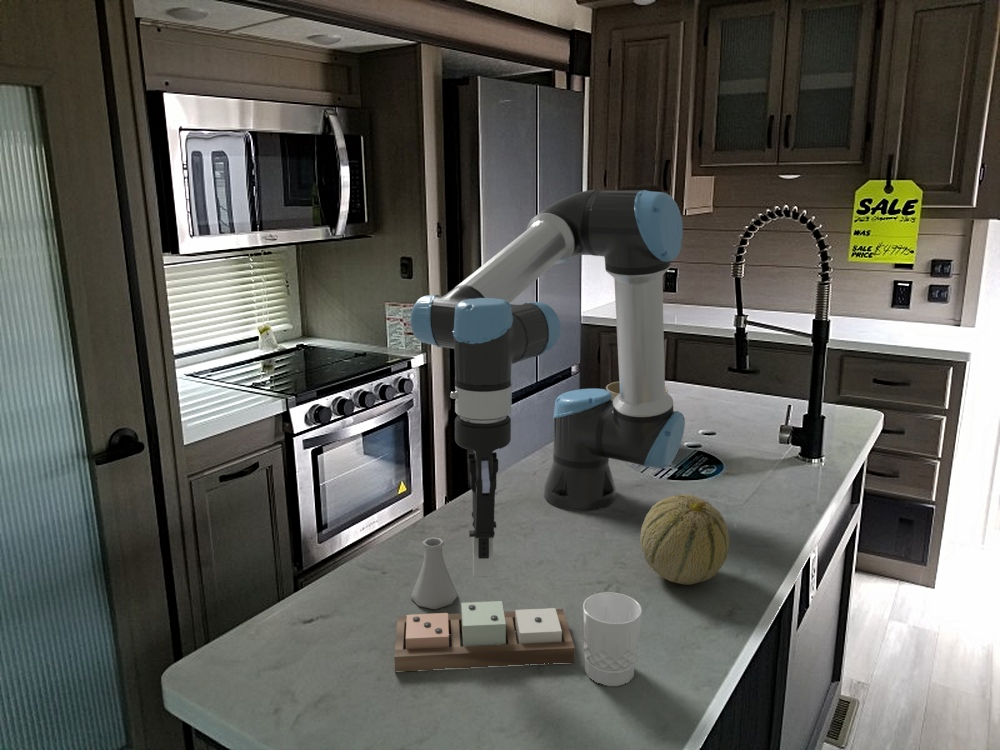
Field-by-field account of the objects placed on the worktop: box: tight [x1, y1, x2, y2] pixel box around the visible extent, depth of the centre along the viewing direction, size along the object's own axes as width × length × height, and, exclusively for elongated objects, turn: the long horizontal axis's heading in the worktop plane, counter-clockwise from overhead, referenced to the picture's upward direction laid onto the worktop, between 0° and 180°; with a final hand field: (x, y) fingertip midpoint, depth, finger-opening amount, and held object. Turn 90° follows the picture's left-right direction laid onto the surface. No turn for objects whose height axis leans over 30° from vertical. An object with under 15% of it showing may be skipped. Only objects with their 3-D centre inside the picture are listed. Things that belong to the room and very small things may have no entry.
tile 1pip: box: [514, 607, 562, 644], centre depth 112 cm, size 6×6×3 cm
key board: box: [393, 608, 576, 673], centre depth 111 cm, size 10×25×2 cm, turn 95°
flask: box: [410, 536, 459, 610], centre depth 123 cm, size 7×7×10 cm
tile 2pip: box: [460, 600, 506, 647], centre depth 111 cm, size 6×6×3 cm
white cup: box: [582, 591, 643, 687], centre depth 105 cm, size 8×8×10 cm
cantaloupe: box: [639, 493, 731, 586], centre depth 129 cm, size 15×15×15 cm
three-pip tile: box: [405, 612, 450, 649], centre depth 111 cm, size 6×6×3 cm
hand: (482, 574), depth 109 cm, fingers closed
